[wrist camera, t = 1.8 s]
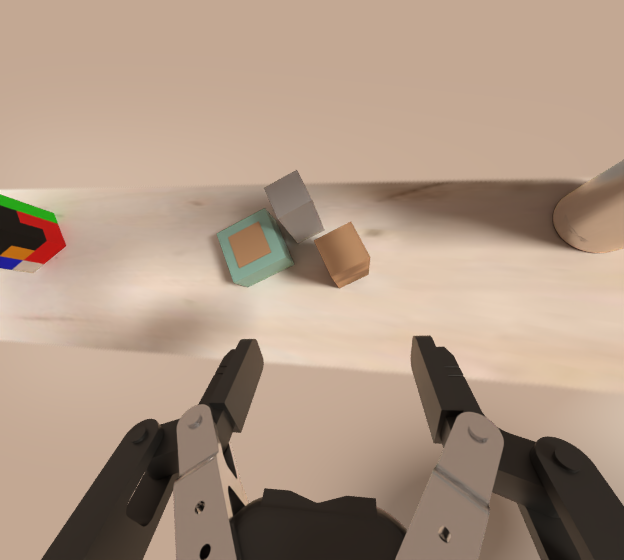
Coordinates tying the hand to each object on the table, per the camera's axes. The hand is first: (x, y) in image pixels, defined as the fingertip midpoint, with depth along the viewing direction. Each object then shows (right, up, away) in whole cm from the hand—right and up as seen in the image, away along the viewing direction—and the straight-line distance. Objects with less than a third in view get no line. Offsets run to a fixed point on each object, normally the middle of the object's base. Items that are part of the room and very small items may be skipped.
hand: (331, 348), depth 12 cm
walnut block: (+5, +6, +25) cm, 26 cm away
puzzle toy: (-62, +12, +41) cm, 75 cm away
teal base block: (-10, +8, +29) cm, 32 cm away
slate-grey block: (-2, +13, +28) cm, 31 cm away
